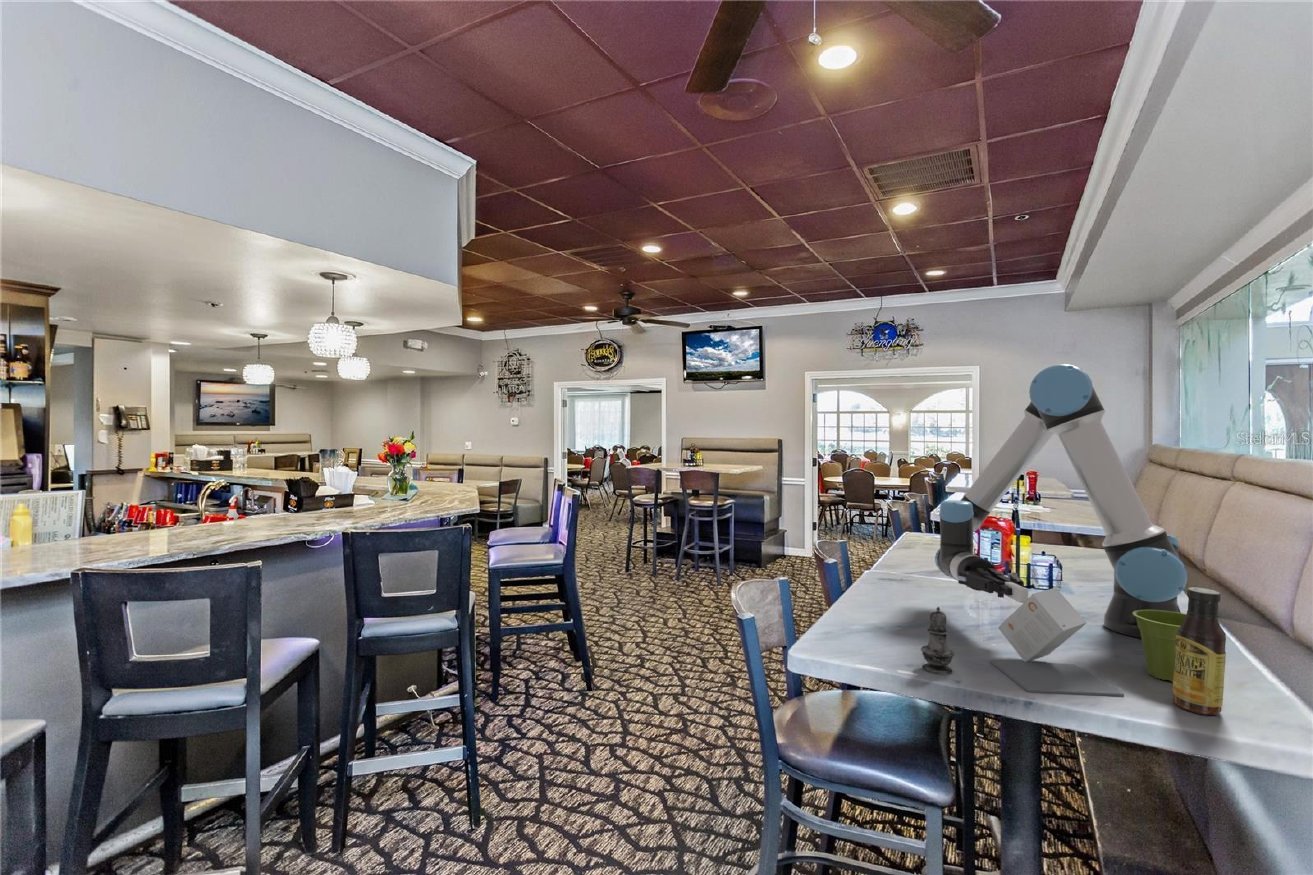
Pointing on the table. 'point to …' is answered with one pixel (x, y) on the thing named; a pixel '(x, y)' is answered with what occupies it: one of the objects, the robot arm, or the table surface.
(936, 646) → the salt shaker
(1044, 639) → the small box
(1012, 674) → the rubber mat
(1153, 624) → the plant pot
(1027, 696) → the table surface
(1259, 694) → the table surface
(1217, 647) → the sauce bottle
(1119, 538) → the robot arm
